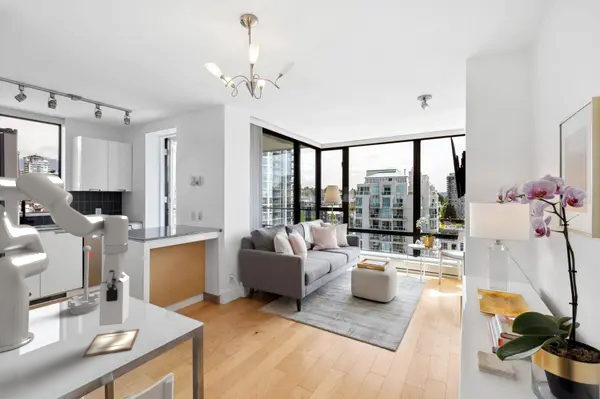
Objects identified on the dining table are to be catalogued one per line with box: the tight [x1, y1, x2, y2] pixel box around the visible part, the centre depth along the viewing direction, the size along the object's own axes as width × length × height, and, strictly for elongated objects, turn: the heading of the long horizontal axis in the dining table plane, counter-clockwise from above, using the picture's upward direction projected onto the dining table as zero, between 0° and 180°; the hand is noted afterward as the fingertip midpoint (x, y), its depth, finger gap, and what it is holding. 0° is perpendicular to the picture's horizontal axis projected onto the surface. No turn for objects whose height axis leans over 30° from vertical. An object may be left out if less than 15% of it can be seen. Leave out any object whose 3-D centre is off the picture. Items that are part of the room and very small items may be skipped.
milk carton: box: [99, 272, 130, 327], centre depth 100 cm, size 7×7×19 cm
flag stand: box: [67, 245, 100, 315], centre depth 129 cm, size 13×13×30 cm
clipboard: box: [82, 328, 140, 358], centre depth 100 cm, size 14×15×1 cm
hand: (114, 296), depth 100 cm, fingers closed on milk carton, 7 cm apart
